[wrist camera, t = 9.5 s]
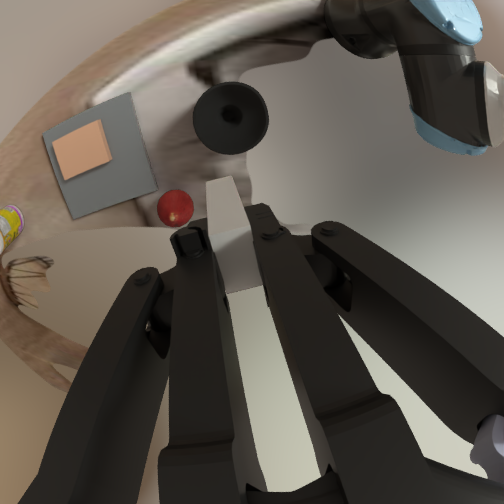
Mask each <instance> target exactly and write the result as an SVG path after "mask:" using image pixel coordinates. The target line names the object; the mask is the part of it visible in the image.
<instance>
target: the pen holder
mask: <svg viewBox="0 0 504 504" xmlns="http://www.w3.org/2000/svg"><path fill="white" fill-rule="evenodd" d="M268 124H269V116H268V110H267V107H266V104H265V101H264V99H263V98H262V96H261V95H260V94H259V92H258V91H257V90H255V89H254V88H253V87H251V86H249V85H247V84H244V83H240V82H224V83H220V84H217V85H215V86H213V87H211V88H210V89H208V90H207V91H206V92H205V93H203V94H202V96H201V97H200V98H199V100H198V101H197V103H196V105H195V108H194V112H193V125H194V129H195V131H196V134H197V136H198V137H199V139H200V140H201V141H202V143H203V144H204V145H205V146H206V147H208V148H209V149H211V150H213V151H215V152H217V153H221V154H227V155H234V154H240V153H243V152H246V151H248V150H250V149H252V148H253V147H254V146H256V145H257V144H258V143H259V142H260V141H261V140H262V139H263V137H264V136H265V134H266V131H267V128H268Z"/></svg>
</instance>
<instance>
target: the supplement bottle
mask: <svg viewBox="0 0 504 504" xmlns="http://www.w3.org/2000/svg"><path fill="white" fill-rule="evenodd" d="M23 227H24V219H23V215H22V213H21V211H20V210H19V209H18V208H17V207H16V206H14V205H7V206H5V207H4V208H3V209H2V210H0V254H1V253H2V252H3V251H4V250H5V249H6V248H7V246H8V245H9V244H10V243H11V242H12V241H13V240H14V239H15V238H16V237H17V236H18V235H19V234H20V233H21V231H22V230H23Z"/></svg>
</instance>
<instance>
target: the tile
mask: <svg viewBox="0 0 504 504" xmlns="http://www.w3.org/2000/svg"><path fill="white" fill-rule="evenodd" d="M52 144H53V147H54V150H55V154H56V157H57V160H58V163H59V166H60V169H61V171H62V174H63V177H64V180H67V179H69V178H71V177H73V176H75V175H78V174H80V173H82V172H84V171H87V170H89V169H91V168H94V167H96V166H99V165H101V164H104V163H106V162H109V161H110V160H112V156H111V153H110V150H109V146H108V143H107V140H106V136H105V133H104V130H103V126H102V122H101V119H99V120H96V121H94V122H92V123H89V124H87V125H85V126H83V127H81V128H79V129H77V130H75V131H73V132H71V133H69V134H67V135H65V136H63V137H61V138H59V139H57V140H55V141H54V142H52Z"/></svg>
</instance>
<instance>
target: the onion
mask: <svg viewBox="0 0 504 504" xmlns="http://www.w3.org/2000/svg"><path fill="white" fill-rule="evenodd" d="M193 211H194V207H193V201H192V199H191V197H190V196H189V195H188V194H187V193H186V192H184V191H181V190H171V191H168V192H166V193H165V194H164V195H163V196H162V197H161V198H160V199H159V202H158V205H157V212H158V216H159V218H160V220H161V221H162V222H163V223H164V224H165V225H167V226H170V227H180V226H182V225H184V224H186V223H187V222H188V221H189V220H190V218H191V217H192V214H193Z"/></svg>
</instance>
